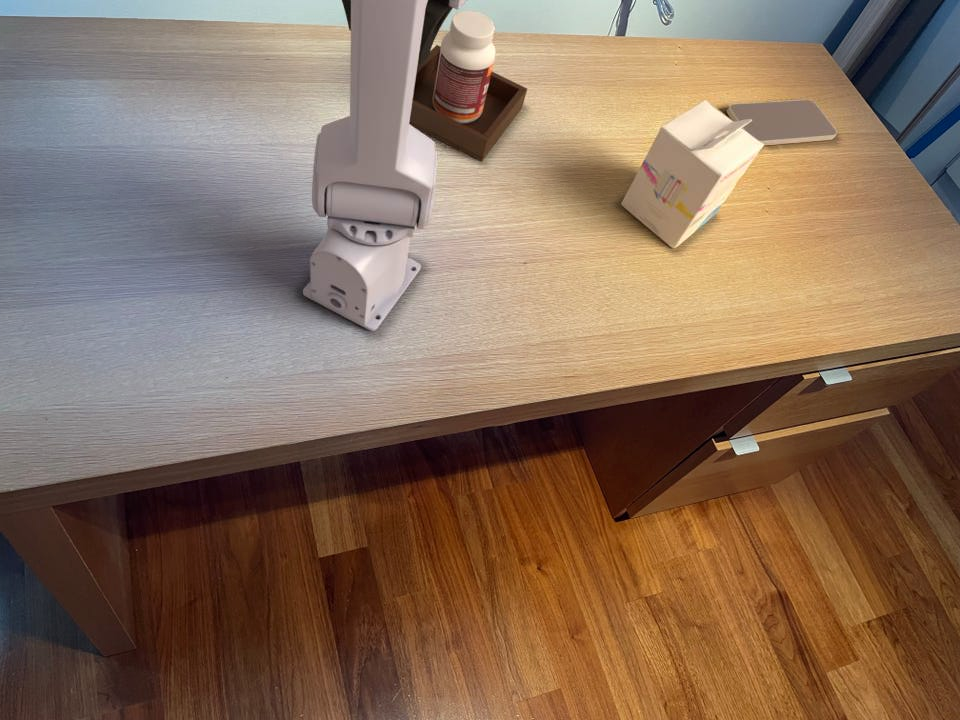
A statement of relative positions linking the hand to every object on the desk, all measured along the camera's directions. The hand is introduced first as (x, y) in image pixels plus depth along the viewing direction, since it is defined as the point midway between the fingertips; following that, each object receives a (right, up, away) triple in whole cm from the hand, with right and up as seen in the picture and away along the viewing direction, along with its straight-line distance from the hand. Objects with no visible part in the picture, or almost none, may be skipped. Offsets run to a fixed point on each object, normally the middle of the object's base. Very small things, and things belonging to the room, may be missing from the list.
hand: (388, 42), depth 70 cm
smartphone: (+51, 0, +23) cm, 56 cm away
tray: (+7, -3, +12) cm, 14 cm away
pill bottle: (+7, -2, +12) cm, 14 cm away
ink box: (+31, -15, +10) cm, 37 cm away
